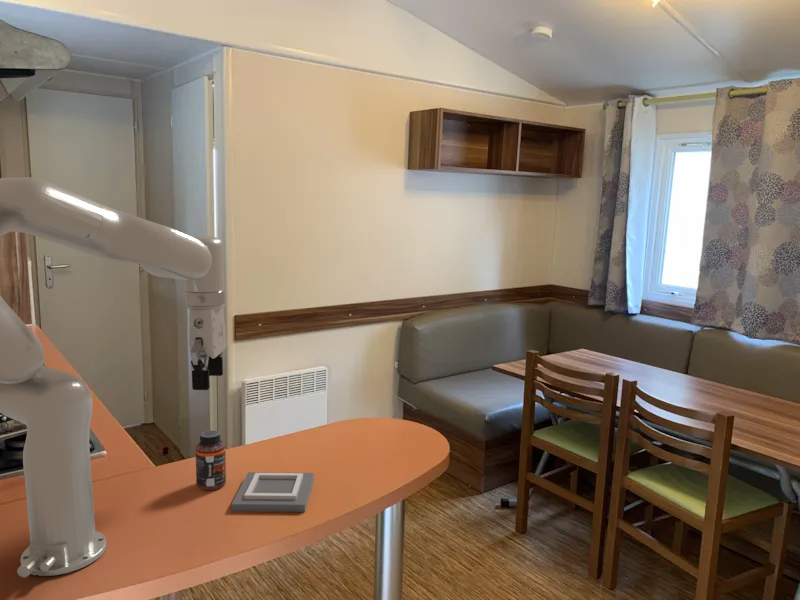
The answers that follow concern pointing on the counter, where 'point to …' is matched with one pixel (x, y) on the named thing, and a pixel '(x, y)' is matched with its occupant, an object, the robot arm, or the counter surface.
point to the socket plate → (274, 492)
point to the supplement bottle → (210, 461)
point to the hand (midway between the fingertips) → (208, 382)
